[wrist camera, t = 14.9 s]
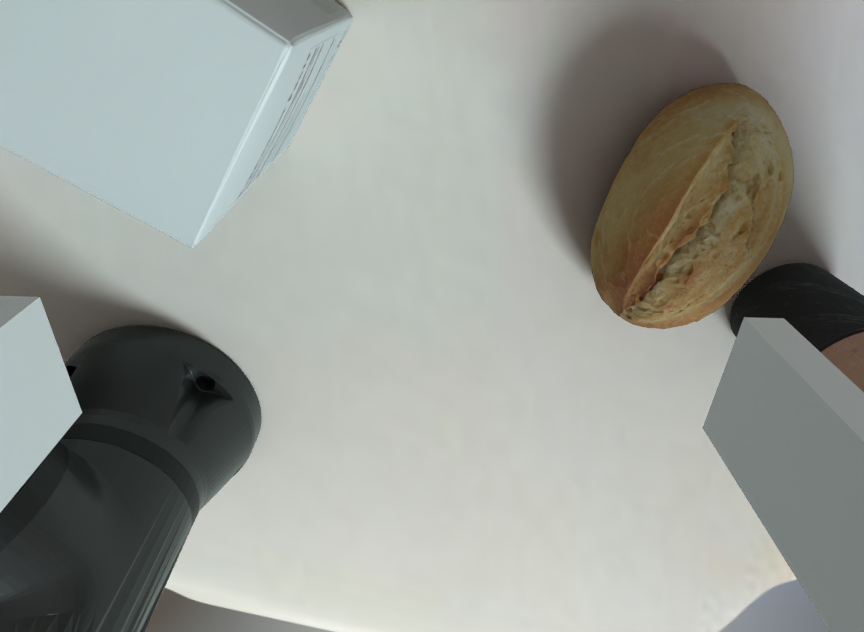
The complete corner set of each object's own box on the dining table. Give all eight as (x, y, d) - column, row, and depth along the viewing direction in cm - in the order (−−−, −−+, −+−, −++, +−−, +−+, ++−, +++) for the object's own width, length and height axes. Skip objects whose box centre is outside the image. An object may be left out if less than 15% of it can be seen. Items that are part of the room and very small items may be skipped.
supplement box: (143, 65, 32) (-63, 122, 19) (201, -98, 28) (-10, -166, 15) (287, 154, 34) (191, 258, 21) (359, 16, 30) (295, 42, 17)
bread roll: (550, 287, 39) (573, 353, 32) (634, 57, 31) (688, 78, 24) (680, 313, 39) (729, 383, 33) (793, 95, 32) (888, 126, 25)
